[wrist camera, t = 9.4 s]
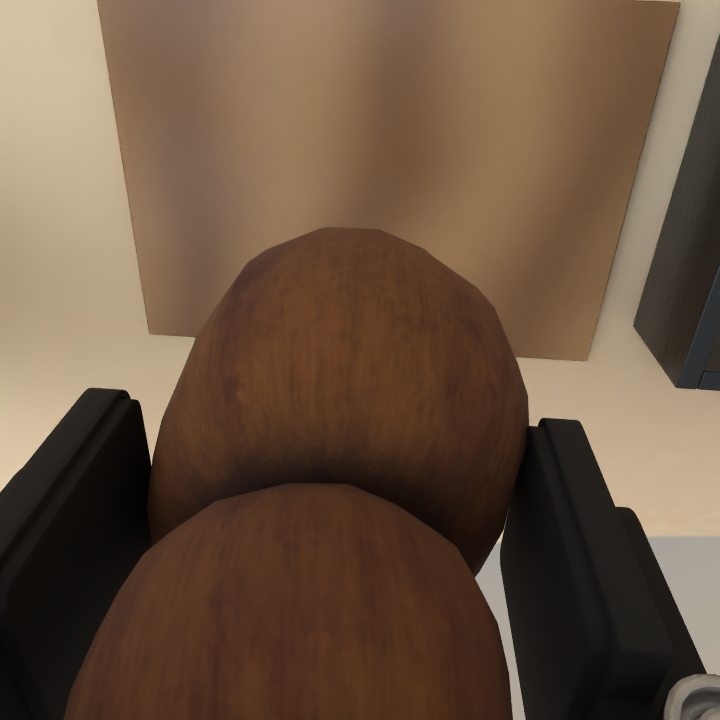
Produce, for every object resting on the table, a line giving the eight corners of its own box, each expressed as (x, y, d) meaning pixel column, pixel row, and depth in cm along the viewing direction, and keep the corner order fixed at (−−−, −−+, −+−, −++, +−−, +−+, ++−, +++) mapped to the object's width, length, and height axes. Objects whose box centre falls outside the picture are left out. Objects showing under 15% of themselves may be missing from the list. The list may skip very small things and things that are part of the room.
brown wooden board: (152, 330, 29) (148, 334, 28) (97, -23, 22) (92, -23, 21) (585, 357, 28) (587, 361, 28) (677, 2, 21) (681, 2, 21)
